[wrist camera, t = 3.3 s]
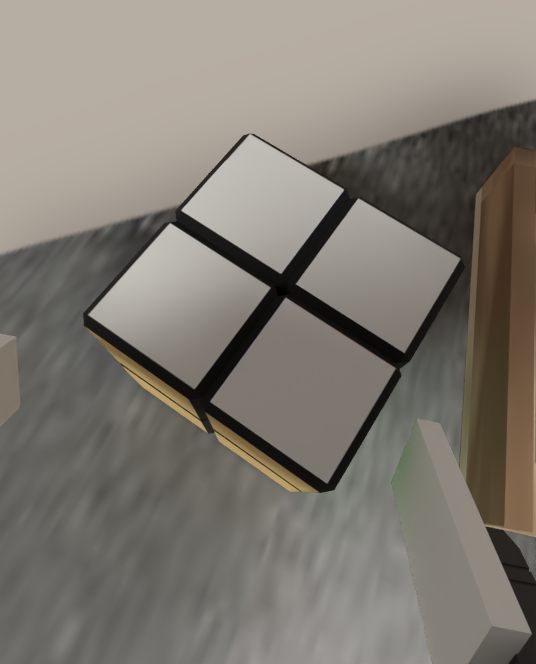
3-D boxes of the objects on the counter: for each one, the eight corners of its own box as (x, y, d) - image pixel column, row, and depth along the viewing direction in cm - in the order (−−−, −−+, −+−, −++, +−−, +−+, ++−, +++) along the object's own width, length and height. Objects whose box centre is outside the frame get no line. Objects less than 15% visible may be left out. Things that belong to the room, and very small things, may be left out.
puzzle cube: (244, 250, 27) (247, 123, 18) (388, 340, 26) (473, 256, 16) (137, 384, 24) (72, 318, 15) (293, 495, 23) (332, 500, 13)
